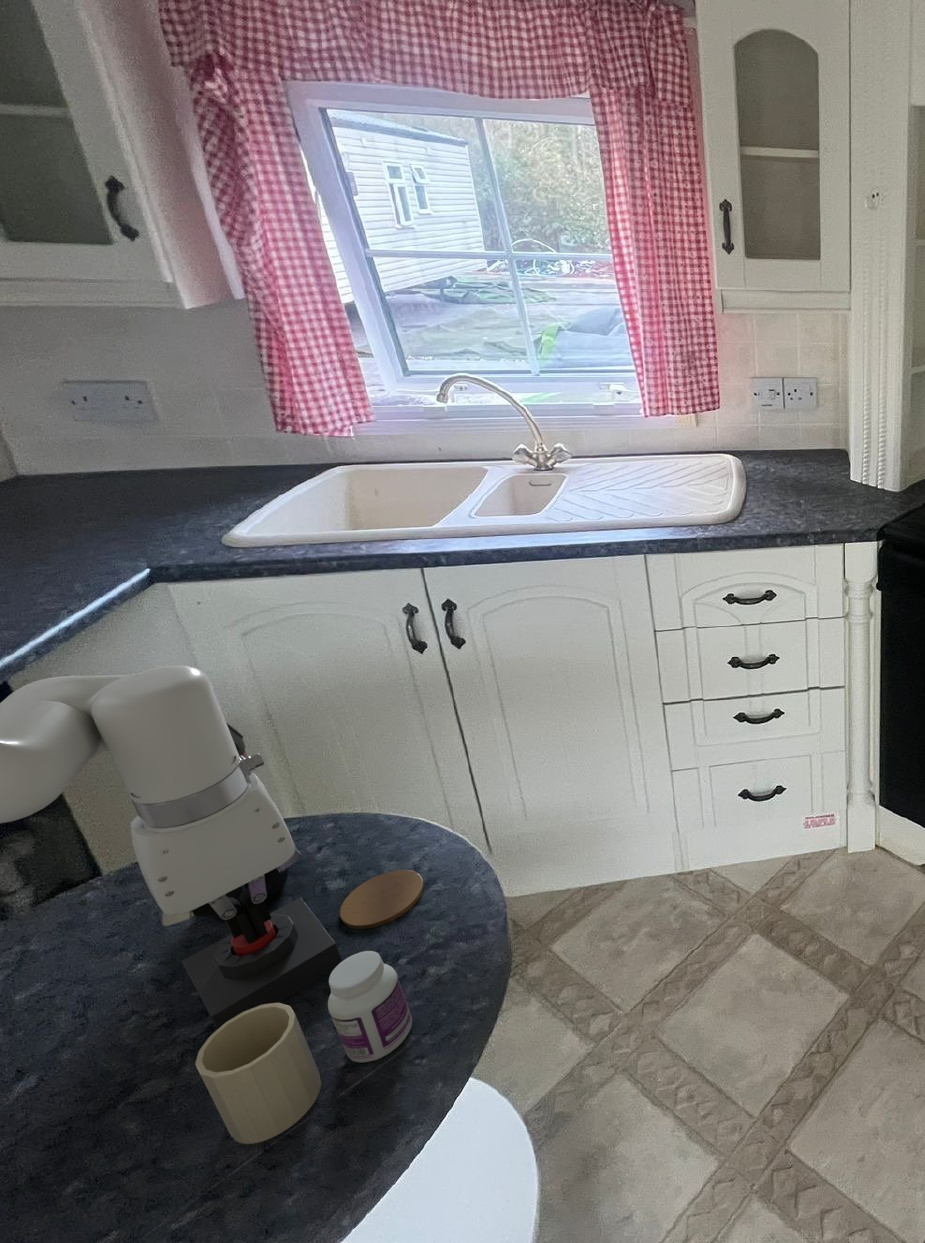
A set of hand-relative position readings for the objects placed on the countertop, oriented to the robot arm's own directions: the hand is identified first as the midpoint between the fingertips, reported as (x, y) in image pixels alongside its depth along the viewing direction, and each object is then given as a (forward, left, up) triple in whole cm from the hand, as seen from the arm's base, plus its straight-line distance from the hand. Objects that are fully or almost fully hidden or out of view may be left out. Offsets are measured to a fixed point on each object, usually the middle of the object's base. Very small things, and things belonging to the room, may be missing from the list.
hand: (253, 931), depth 79 cm
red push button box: (0, 0, -6) cm, 6 cm away
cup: (-4, -16, -6) cm, 18 cm away
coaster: (+11, +1, -6) cm, 12 cm away
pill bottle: (+4, -17, -6) cm, 18 cm away
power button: (0, 0, -2) cm, 2 cm away
